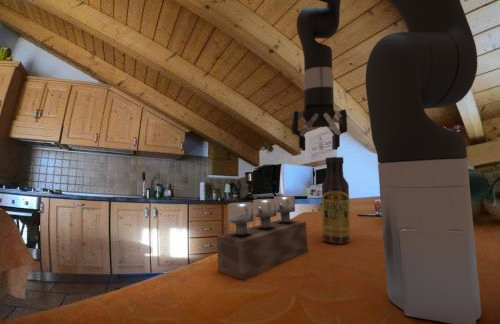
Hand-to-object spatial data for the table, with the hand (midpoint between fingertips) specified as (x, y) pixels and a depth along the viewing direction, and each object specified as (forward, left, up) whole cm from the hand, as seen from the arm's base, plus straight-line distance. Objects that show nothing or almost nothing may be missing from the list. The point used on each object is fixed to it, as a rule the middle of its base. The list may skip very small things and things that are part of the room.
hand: (319, 150), depth 67 cm
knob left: (-29, +9, -18) cm, 35 cm away
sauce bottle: (-6, -4, -23) cm, 24 cm away
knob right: (-17, +5, -18) cm, 25 cm away
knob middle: (-23, +7, -18) cm, 30 cm away
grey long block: (-23, +7, -22) cm, 33 cm away
